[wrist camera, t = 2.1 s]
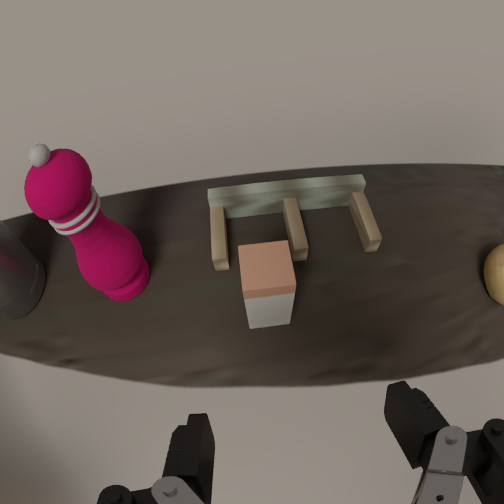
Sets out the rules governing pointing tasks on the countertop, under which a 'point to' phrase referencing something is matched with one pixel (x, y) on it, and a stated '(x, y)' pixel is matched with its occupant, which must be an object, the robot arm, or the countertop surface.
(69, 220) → the pepper mill
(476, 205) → the countertop surface
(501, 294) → the onion
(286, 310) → the plug
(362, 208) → the comb rack
